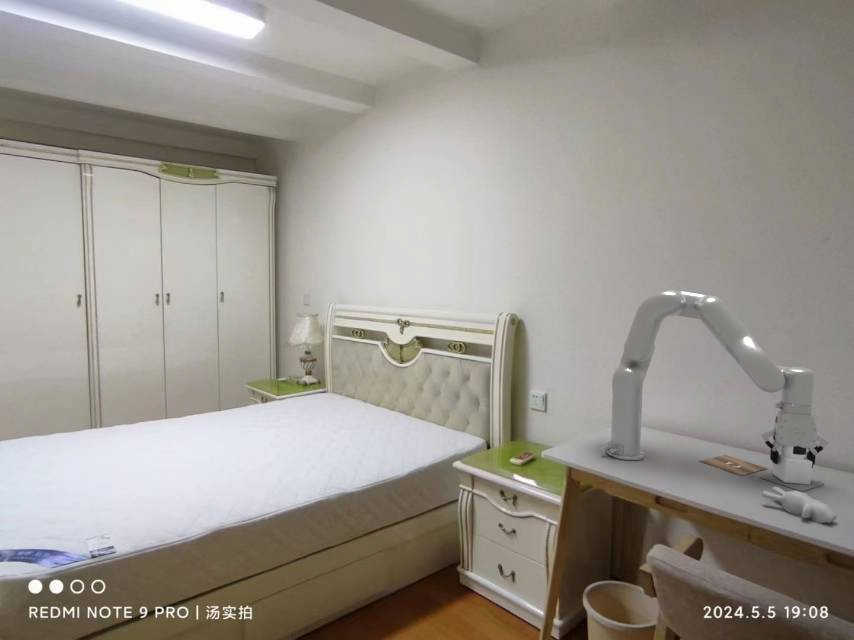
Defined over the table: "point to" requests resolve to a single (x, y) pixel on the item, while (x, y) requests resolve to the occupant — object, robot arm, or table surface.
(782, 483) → the grey mat
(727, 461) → the tile
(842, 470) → the table surface
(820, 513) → the bunny figurine
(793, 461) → the medicine bottle
